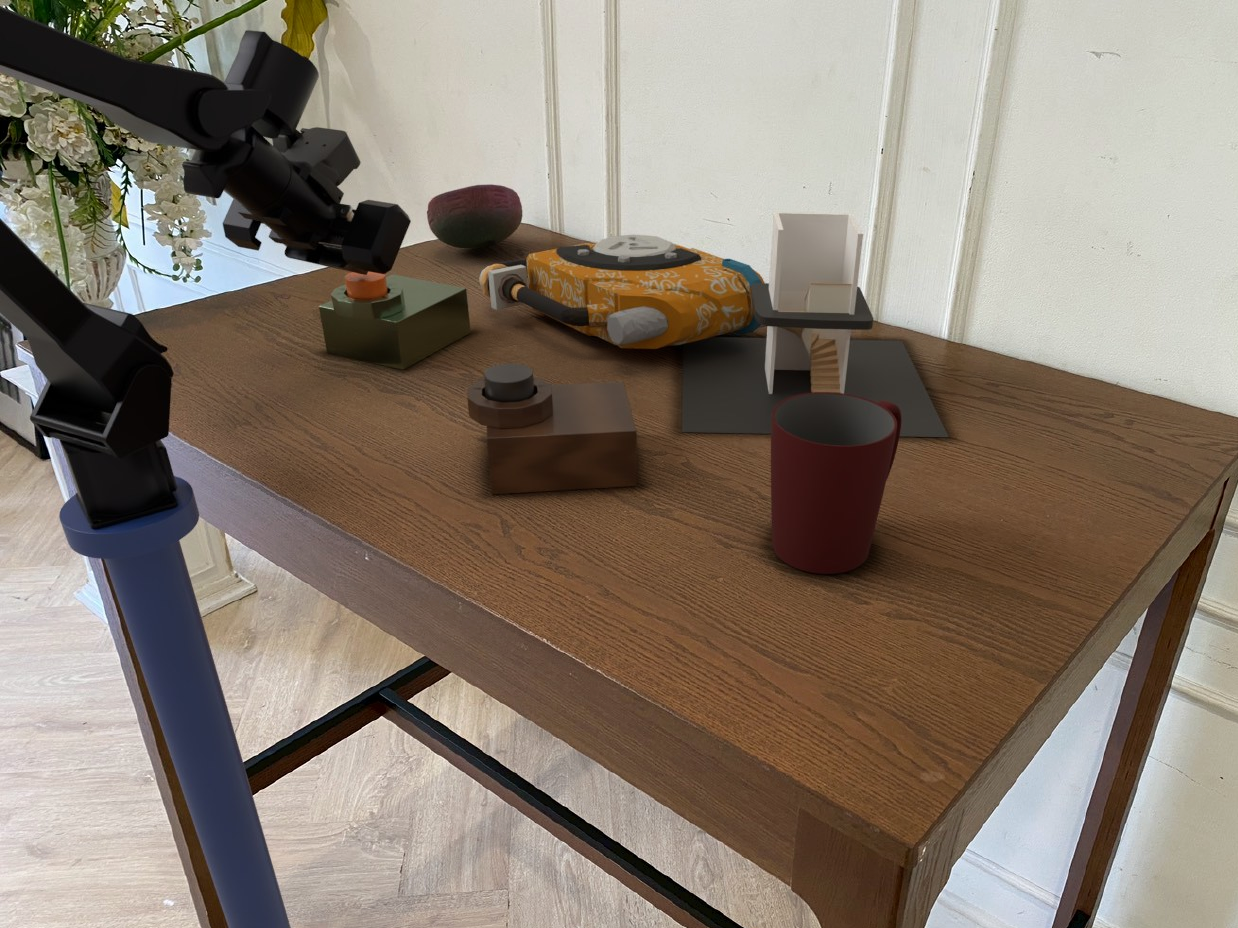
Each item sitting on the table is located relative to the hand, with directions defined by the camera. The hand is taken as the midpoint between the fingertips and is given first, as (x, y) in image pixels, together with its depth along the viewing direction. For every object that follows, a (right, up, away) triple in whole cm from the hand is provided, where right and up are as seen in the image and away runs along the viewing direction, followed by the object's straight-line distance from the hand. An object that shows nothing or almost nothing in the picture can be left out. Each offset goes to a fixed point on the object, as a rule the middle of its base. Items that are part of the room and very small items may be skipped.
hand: (365, 270), depth 103 cm
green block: (+1, -6, +8) cm, 10 cm away
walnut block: (+22, -20, -15) cm, 33 cm away
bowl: (+4, +11, +34) cm, 36 cm away
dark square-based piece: (+45, -11, +2) cm, 46 cm away
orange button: (0, -2, +1) cm, 3 cm away
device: (+25, -3, +14) cm, 28 cm away
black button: (+18, -15, -19) cm, 30 cm away
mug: (+44, -27, -24) cm, 57 cm away
